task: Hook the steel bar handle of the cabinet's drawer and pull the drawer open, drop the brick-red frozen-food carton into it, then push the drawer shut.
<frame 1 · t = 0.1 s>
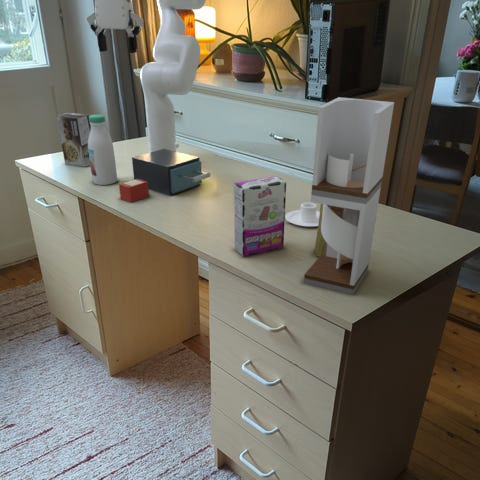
hand: (118, 52, 149), 37 cm above the table, tool pointing down, fingers open, 9 cm apart
package: (134, 197, 153), on the table
cabinet: (167, 184, 163), on the table
milk bottle: (105, 182, 166), on the table
drawer: (177, 174, 158), point 4 cm above the table, slide at 0.0 cm, touching cabinet
candle holder: (307, 220, 139), on the table
printed cardboard box: (80, 163, 183), on the table
candy bar box: (258, 249, 124), on the table
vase: (327, 254, 122), on the table
tall two-tier shelf: (336, 278, 112), on the table
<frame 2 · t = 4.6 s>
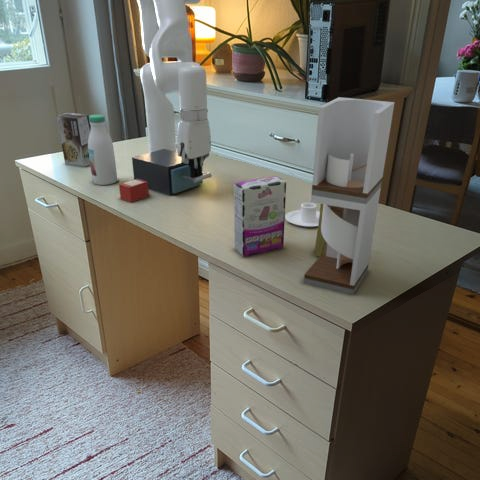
hand: (196, 179, 154), 4 cm above the table, tool pointing down, fingers closed
drawer: (178, 174, 158), point 4 cm above the table, slide at 0.4 cm, touching gripper
everything else where it was.
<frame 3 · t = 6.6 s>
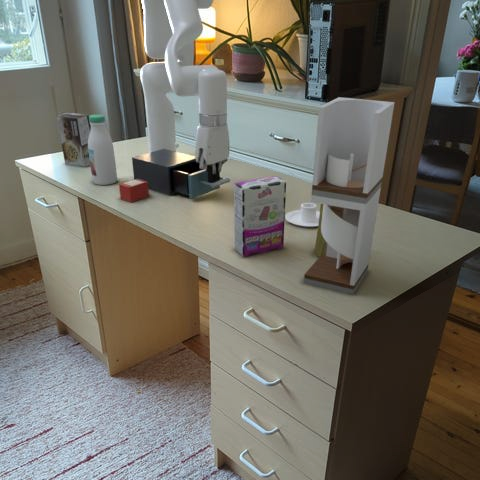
hand: (213, 185, 151), 4 cm above the table, tool pointing down, fingers closed
drawer: (195, 179, 155), point 4 cm above the table, slide at 7.5 cm
everything else where it was.
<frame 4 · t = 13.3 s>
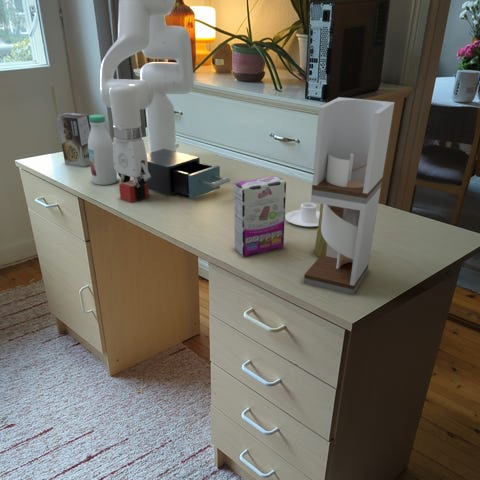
hand: (134, 196, 153), 0 cm above the table, tool pointing down, fingers closed on package, 4 cm apart
package: (134, 197, 153), on the table, touching gripper
everything else where it was.
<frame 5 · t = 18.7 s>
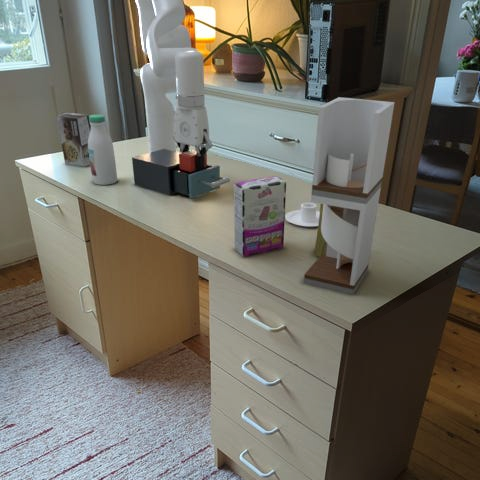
hand: (193, 166, 153), 8 cm above the table, tool pointing down, fingers closed on package, 4 cm apart
package: (193, 167, 153), point 8 cm above the table, touching gripper
everything else where it was.
when the fingers open (11 cm above the table, at t = 31.3 s): package drops 8 cm, resting on drawer.
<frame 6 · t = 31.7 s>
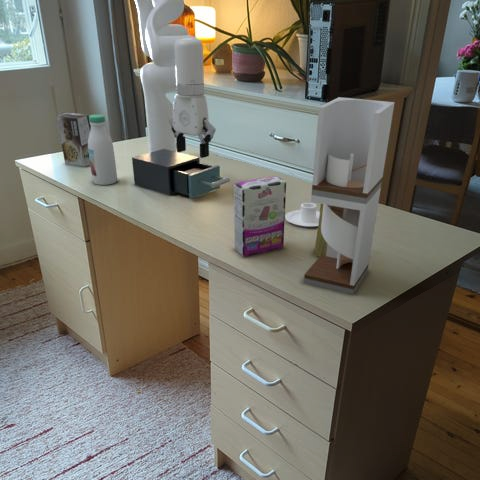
hand: (192, 153, 151), 12 cm above the table, tool pointing down, fingers open, 8 cm apart
package: (194, 186, 156), point 2 cm above the table, touching drawer
drawer: (195, 179, 155), point 4 cm above the table, slide at 7.5 cm, touching package
everything else where it was.
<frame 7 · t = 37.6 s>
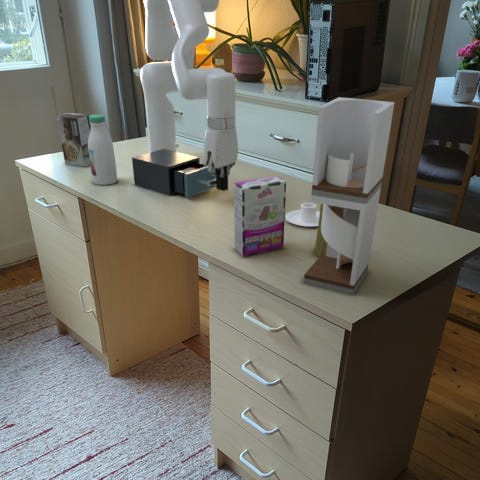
hand: (222, 189, 150), 3 cm above the table, tool pointing down, fingers closed
package: (190, 185, 157), point 2 cm above the table, touching drawer
drawer: (191, 178, 155), point 4 cm above the table, slide at 5.8 cm, touching gripper, package
everything else where it was.
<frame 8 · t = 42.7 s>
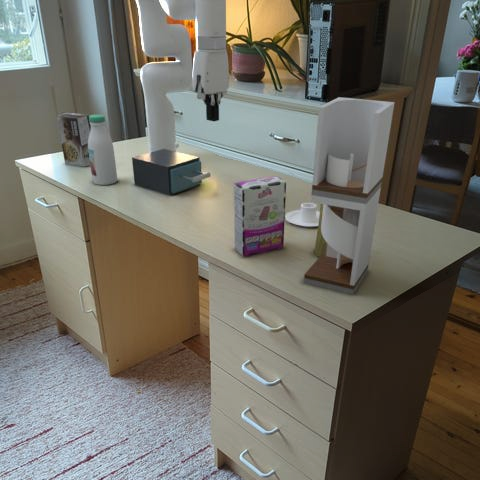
hand: (212, 120, 141), 22 cm above the table, tool pointing down, fingers closed
package: (176, 181, 160), point 2 cm above the table, touching drawer
drawer: (177, 174, 158), point 4 cm above the table, slide at 0.0 cm, touching package
everything else where it was.
at the end: drawer pulled out 7.5 cm at the most during the clip, back to where it started at the end; package 0.6 cm from the target spot in the cabinet, point 2.0 cm above the cabinet's base; drawer slide at 0.0 cm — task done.
